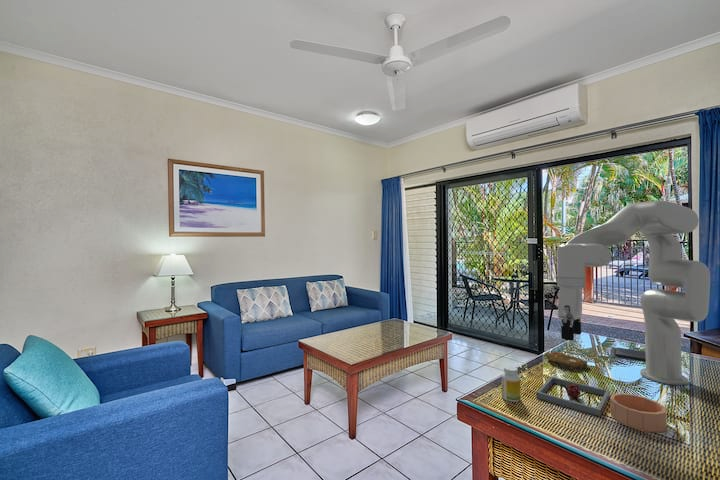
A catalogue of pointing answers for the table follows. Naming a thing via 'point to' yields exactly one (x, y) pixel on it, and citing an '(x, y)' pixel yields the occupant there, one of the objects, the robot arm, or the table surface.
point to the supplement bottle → (511, 384)
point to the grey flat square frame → (572, 404)
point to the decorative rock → (567, 361)
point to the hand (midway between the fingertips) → (571, 336)
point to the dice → (572, 390)
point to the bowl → (638, 412)
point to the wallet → (628, 354)
